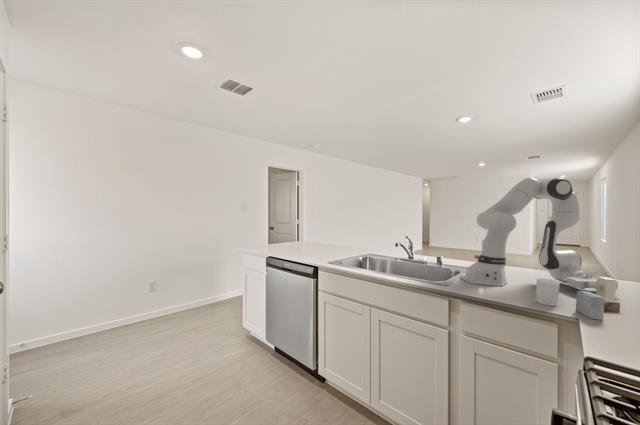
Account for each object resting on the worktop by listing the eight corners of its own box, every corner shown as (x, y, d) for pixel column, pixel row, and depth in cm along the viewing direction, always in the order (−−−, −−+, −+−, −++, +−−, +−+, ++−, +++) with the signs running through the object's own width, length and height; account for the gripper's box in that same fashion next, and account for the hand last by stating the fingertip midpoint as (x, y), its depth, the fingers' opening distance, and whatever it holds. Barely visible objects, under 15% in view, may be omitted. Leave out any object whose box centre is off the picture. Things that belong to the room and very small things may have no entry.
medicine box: (603, 320, 103) (605, 298, 103) (589, 319, 104) (591, 296, 104) (587, 312, 111) (589, 291, 111) (575, 310, 112) (576, 290, 112)
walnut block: (597, 311, 113) (597, 301, 113) (577, 303, 122) (577, 294, 122) (619, 312, 113) (620, 302, 112) (597, 303, 122) (598, 295, 121)
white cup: (533, 302, 120) (534, 280, 120) (537, 298, 125) (538, 277, 125) (556, 308, 114) (557, 284, 114) (560, 304, 119) (561, 281, 119)
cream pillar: (604, 300, 125) (606, 279, 124) (595, 297, 129) (597, 276, 129) (614, 301, 125) (616, 279, 124) (605, 297, 129) (606, 277, 128)
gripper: (559, 272, 140) (585, 280, 126) (600, 274, 139) (630, 282, 125) (559, 284, 140) (584, 294, 126) (599, 286, 139) (629, 295, 125)
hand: (607, 288), depth 126 cm, fingers open, 5 cm apart
